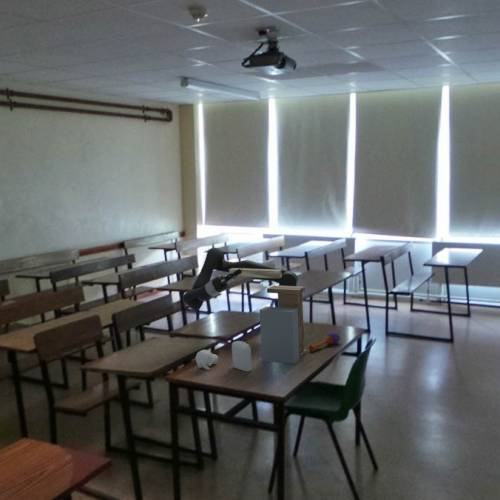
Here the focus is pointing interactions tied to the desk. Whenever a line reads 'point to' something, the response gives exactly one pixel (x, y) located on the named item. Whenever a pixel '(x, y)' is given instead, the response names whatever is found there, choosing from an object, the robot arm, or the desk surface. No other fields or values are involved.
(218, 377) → the desk surface
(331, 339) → the kendama
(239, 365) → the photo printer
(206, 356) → the white rabbit figurine
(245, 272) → the wooden batten
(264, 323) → the grey block
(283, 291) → the tan tall block
